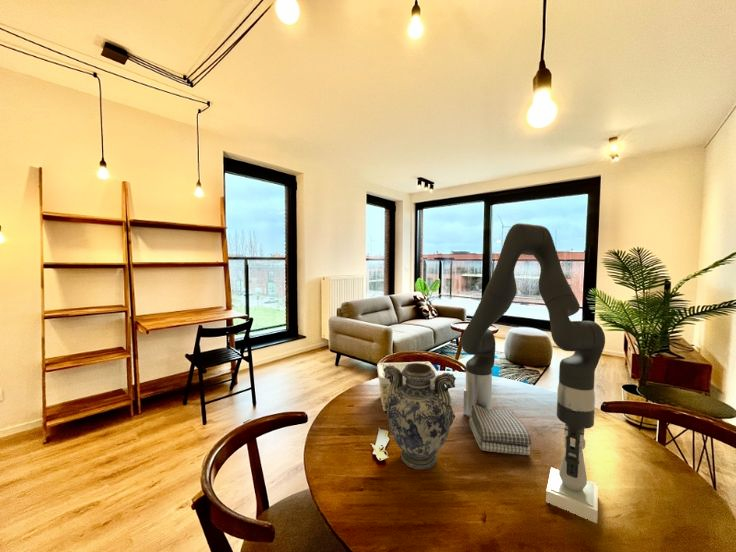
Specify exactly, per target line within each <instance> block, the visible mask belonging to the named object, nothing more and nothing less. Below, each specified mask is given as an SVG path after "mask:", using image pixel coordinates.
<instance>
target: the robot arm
mask: <svg viewBox="0 0 736 552" xmlns="http://www.w3.org/2000/svg"><path fill="white" fill-rule="evenodd" d="M521 255H523V256H525V255H526V256H533V257H534V258H535V260H537V263H538V264H539V267H540V272H539V273H540V275H539V279H538V289H539V293H540V296H541V298H542V300H543V303H544V304H545V307H546V309H547V312H548V317H549V323H550V326H549V327H550V333H551V337H552V341H553V343H554V344H555V345H556V346H557V347H558V348H559V349H561V350H562V351H564V352H574V353H573V354H572V355H571V356H568V357H564V358H563V359H561V360H560V362H559V366H558V367H559V369H558V384H557V385H558V386H557V392H556V393H557V398H556V401H557V402H556V417H557V419H559V421H560V422H562V423H564V429H563V430H564V431H563V434H564V437H565V441H564V445H563V446H564V448H566V457H565V460H566V462H567V468H566V473H567V475H569V476H571V477H574V478H577V477H578V464H579V462H580V460H579V454H580V453H582V451H583V449H582V442H583V441H584V440H585V430H586V429H591V428H592V427H593V426H594V425H595V412H596V411H595V408H596V407H595V405H596V395H595V393H596V392H595V378H596V377H595V372H596V369H597V367H598V365H599V362H600V359H601V356H602V354H603V351H604V350H605V349H604V348H605V347H606V346H605V344H606V335H605V331H604V330H603V328H602V326H600V324H598V323H597V322H595V321H592V320H571V319H570V317H572V316H573V315H575V314H577V313H578V312H579V310H580V308H581V306H580V302H579V301H578V298H577V296H576V295H575V292H574V291H573V289H572V288H571V286H570V284H569V282H568V280H567V279H566V276H565V274H564V271H563V269H562V268H563V267H562V265H561V262H560V257H559V255H558V252H557V249H556V246H555V242H554V240H553V236H552V234H551V232H550V230H549V229H548V228H547V227H545V226H543V225H540V224H539V225H538V224H534V223H533V224H532V223H526V222H525V223H524V222H518V223H514V224H513V225H512V226H511V227H510V228H509V230H508V232H507V233H506V236H505V239H504V241H503V245H502V248H501V251H500V255H499V257H498V260H497V262H496V265H495V267H494V269H493V273H492V274H491V277H490V279H489V281H488V283H487V285H486V287H485V289H484V291H483V294H482V297H481V299H480V301H479V304H478V305H477V308H476V310H475V312H474V314H473V316H472V317H471V319H470V321H469V323H468V324H467V326H466V327H465V329H464V331H463V333H462V335H461V340H460V344H461V348H462V350H463V352H464V353H466V354H467V355H470V356H472V357H471V358H469V360H467V361H466V363H465V388H464V390H463V415H464V416H466V417H468V418H469V419H470V418H471V417H472V413H471V411H473V410H472V405H473V404H475V405H478V406H481V407H482V408H485V409H488V410H490V409H491V410H492V393H493V392H492V391H493V389H492V386H493V385H492V381H493V379H492V378H493V377H492V376H493V368H494V366H495V359H496V357H495V356H496V338H495V334H494V333H493V332H492V330H491V329H489V328H490V327H491V326H492V325H493V324H494V323H496V322H497V321H499V319H500V318H501V317H503V316H504V315H505V314H506V313H507V311H508V310H509V309H510V307H511V305H512V304H513V301H514V300H515V298H516V295H517V290H518V289H517V281H516V277H515V269H516V268H515V267H516V265H517V262H518V260H519V258H520V257H521ZM579 439H580V441H579ZM579 443H580V446H579ZM569 453H572V454H575V455H576V457H574V456H571V455H569Z"/></svg>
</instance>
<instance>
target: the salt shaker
mask: <svg viewBox="0 0 736 552" xmlns="http://www.w3.org/2000/svg"><path fill="white" fill-rule="evenodd" d="M563 439H564V440H563V441H564V442H565V436H564V438H563ZM579 441H580V439H579ZM579 446H580V443H579ZM564 448H565V447H564ZM585 448H586V439H584V441H583V442H582V453H580V454H579V460H580V462H579V464H578V477H577V478H574V477H571V476H569V475H567V473H566V468H567V462H566V460H565V457H566V448H565V449H564V452H563V456H562V459H561V463H560V466H559V469H558V470H559V476H560V478H561V480H562V482H563V485H564V486H565V487H566V488H568V489H569V490H571V491H575V492H580V491H581V490H582V489H583V488H584V487H585V486H586V484H587V480H588V478H587V472H586V465H585V457H584V452H583V450H584V449H585ZM569 455H571V456H574V457H576V455H575V454H572V453H569Z"/></svg>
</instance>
